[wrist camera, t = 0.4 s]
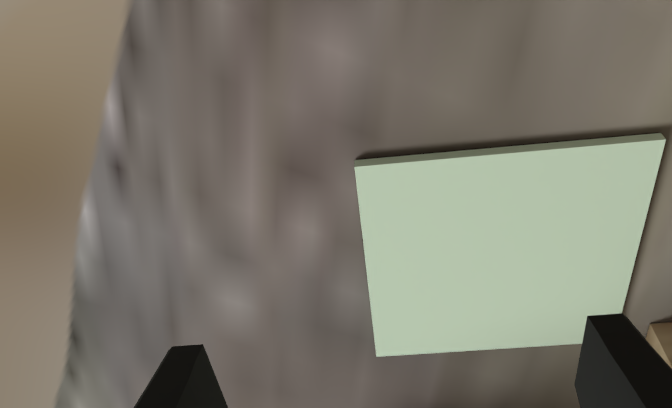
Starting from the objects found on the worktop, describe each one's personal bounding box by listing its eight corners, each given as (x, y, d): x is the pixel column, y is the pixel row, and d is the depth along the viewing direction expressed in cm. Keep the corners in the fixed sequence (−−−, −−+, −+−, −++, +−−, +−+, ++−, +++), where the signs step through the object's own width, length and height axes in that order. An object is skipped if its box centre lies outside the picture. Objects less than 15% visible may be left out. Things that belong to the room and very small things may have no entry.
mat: (611, 333, 26) (614, 341, 26) (376, 349, 27) (376, 356, 26) (660, 132, 20) (665, 139, 20) (354, 160, 21) (354, 167, 20)
